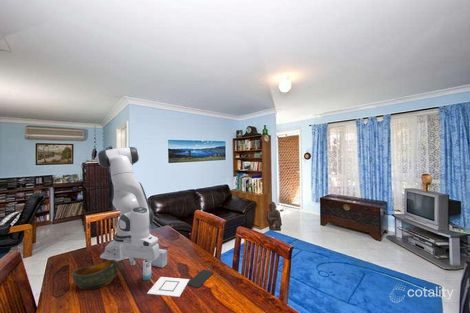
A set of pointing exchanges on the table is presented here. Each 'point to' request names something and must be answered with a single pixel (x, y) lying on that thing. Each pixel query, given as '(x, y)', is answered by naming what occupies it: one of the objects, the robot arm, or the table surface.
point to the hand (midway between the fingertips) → (140, 265)
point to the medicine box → (160, 259)
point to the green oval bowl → (96, 275)
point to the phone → (200, 278)
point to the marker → (146, 270)
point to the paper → (169, 286)
